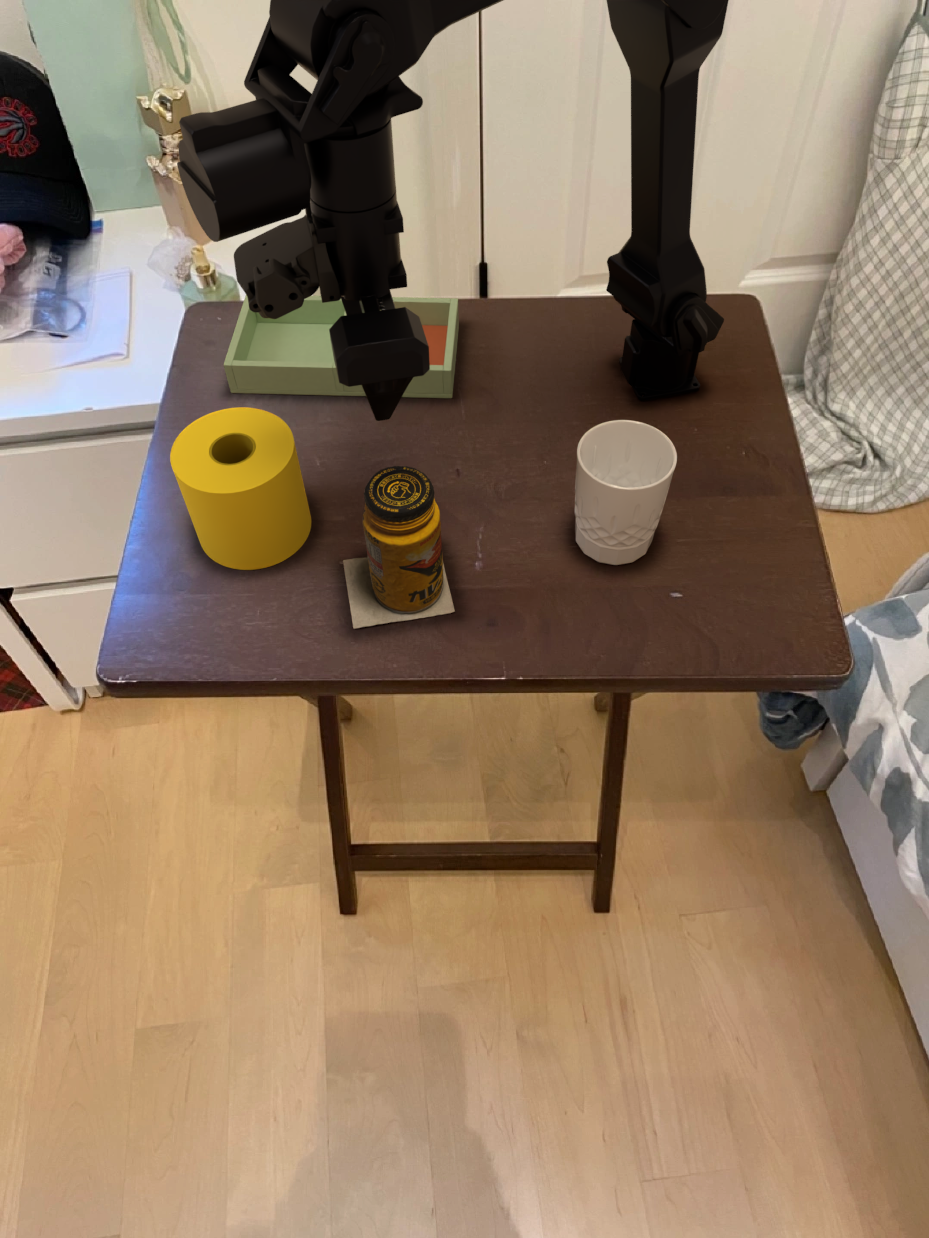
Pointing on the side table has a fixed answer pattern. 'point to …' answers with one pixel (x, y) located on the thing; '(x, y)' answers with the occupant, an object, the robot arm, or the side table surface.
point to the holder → (330, 350)
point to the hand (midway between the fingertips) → (372, 380)
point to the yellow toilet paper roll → (242, 487)
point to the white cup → (621, 489)
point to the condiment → (399, 552)
